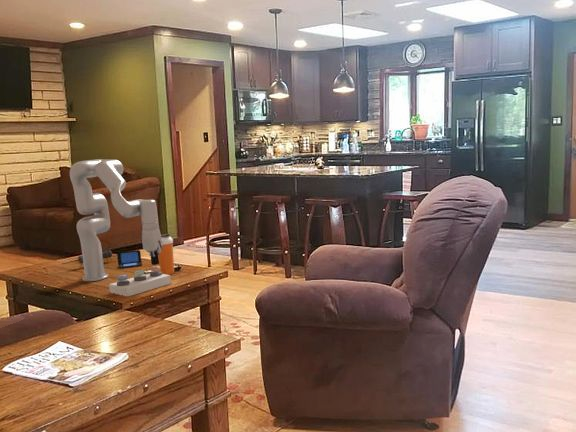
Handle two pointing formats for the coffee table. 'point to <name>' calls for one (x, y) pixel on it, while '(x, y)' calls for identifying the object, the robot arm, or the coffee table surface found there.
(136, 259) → the object
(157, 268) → the button terracotta
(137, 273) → the button sage
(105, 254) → the bomb
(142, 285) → the button panel
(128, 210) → the robot arm
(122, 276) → the button slate
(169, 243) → the shaker bottle
